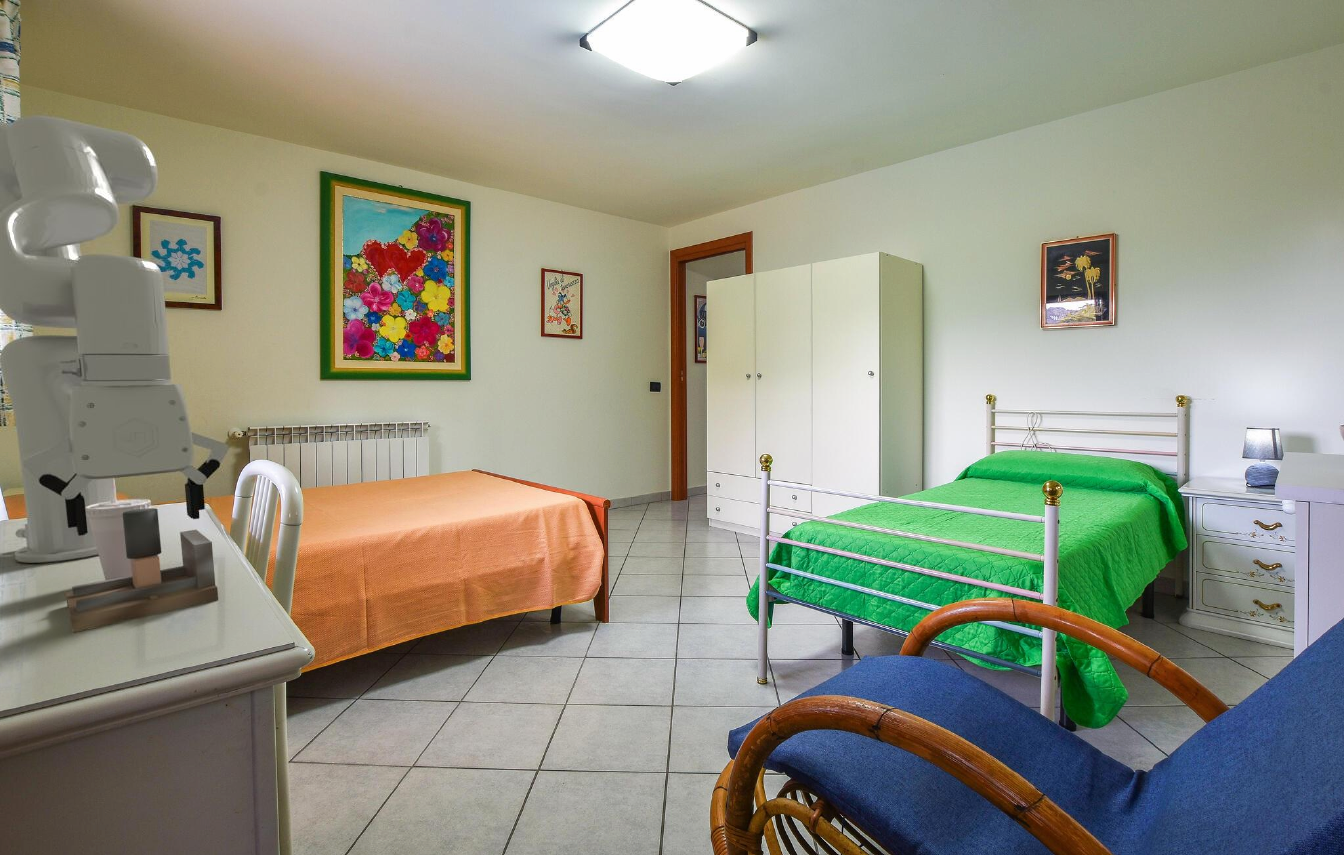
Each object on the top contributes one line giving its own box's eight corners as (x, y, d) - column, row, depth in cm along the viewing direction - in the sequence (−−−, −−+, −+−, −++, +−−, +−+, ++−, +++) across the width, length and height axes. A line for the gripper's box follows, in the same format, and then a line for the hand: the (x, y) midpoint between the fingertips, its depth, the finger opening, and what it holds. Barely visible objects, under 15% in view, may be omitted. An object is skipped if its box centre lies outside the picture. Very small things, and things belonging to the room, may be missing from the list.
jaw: (132, 594, 69) (125, 516, 68) (127, 584, 72) (119, 510, 71) (167, 587, 71) (160, 512, 70) (160, 578, 74) (154, 505, 73)
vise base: (73, 632, 63) (66, 568, 62) (67, 605, 71) (61, 548, 70) (218, 599, 72) (213, 543, 71) (199, 579, 79) (194, 528, 79)
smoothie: (123, 571, 83) (113, 465, 82) (171, 570, 83) (161, 465, 82) (76, 587, 77) (64, 473, 76) (127, 587, 77) (116, 473, 75)
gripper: (13, 373, 61) (31, 547, 62) (229, 371, 73) (239, 516, 75) (13, 372, 66) (30, 533, 67) (215, 371, 78) (225, 507, 80)
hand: (140, 524), depth 71 cm, fingers open, 9 cm apart
